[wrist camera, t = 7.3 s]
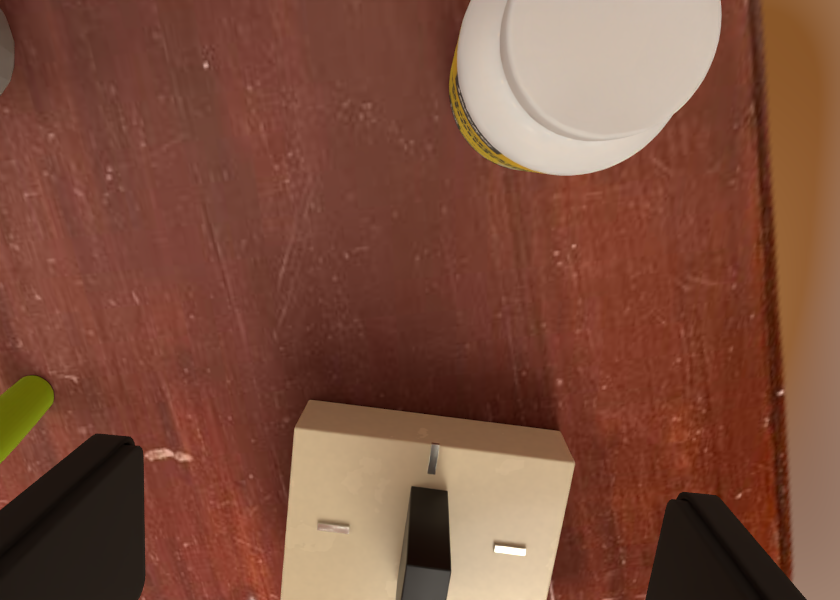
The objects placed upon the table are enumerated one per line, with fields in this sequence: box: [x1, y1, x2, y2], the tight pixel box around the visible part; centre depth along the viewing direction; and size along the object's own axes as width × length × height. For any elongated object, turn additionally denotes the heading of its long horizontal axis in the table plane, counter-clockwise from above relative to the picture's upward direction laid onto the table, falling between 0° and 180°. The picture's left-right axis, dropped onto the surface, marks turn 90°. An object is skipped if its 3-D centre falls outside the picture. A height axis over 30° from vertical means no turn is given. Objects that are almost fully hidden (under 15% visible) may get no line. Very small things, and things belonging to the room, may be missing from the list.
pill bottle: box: [449, 0, 722, 175], centre depth 18 cm, size 6×6×12 cm
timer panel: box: [280, 400, 575, 600], centre depth 27 cm, size 12×9×3 cm
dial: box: [396, 486, 452, 600], centre depth 23 cm, size 5×2×5 cm, turn 172°
